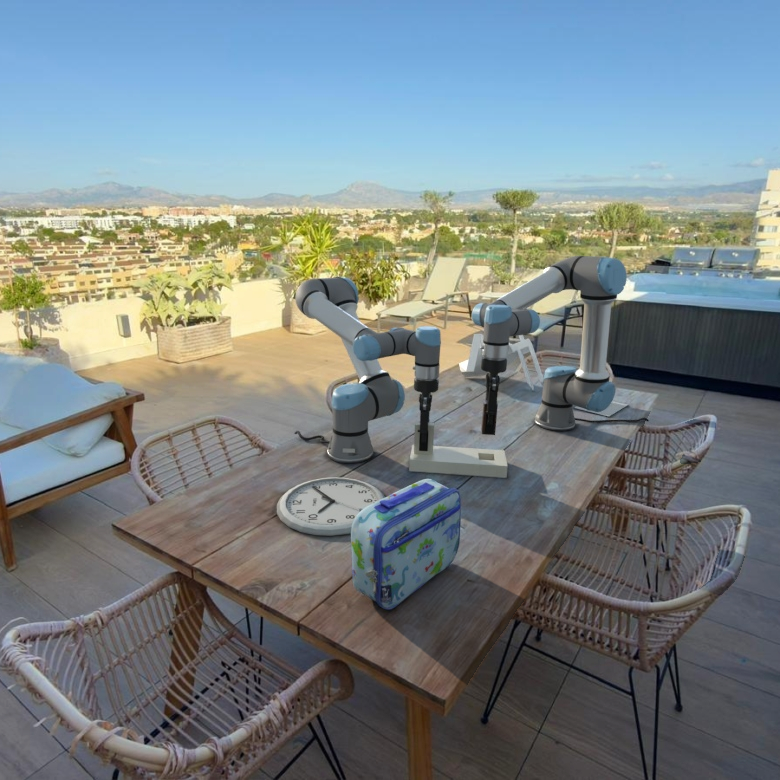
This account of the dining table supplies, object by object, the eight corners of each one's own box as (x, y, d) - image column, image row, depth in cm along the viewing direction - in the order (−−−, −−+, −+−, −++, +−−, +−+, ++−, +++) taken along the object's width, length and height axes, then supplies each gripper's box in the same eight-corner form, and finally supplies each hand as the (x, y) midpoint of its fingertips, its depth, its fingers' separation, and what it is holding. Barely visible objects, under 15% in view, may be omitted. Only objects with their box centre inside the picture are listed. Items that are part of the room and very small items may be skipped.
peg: (494, 430, 165) (496, 400, 162) (495, 435, 161) (497, 404, 158) (481, 429, 165) (483, 399, 162) (481, 434, 161) (484, 403, 158)
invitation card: (608, 416, 214) (573, 407, 224) (608, 416, 214) (573, 408, 224) (628, 404, 229) (594, 396, 238) (628, 405, 229) (594, 397, 238)
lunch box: (380, 623, 100) (381, 528, 94) (344, 596, 108) (343, 505, 101) (464, 565, 118) (470, 482, 112) (428, 545, 125) (432, 466, 119)
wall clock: (392, 527, 129) (268, 531, 127) (391, 533, 130) (269, 537, 127) (383, 473, 158) (282, 475, 155) (383, 478, 158) (282, 480, 156)
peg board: (503, 461, 172) (506, 421, 167) (506, 478, 160) (510, 435, 156) (412, 455, 175) (413, 416, 171) (409, 471, 164) (410, 429, 159)
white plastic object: (480, 419, 265) (459, 396, 241) (461, 346, 287) (441, 319, 263) (551, 395, 253) (536, 368, 228) (526, 321, 275) (510, 290, 251)
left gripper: (416, 370, 168) (413, 437, 175) (412, 384, 153) (409, 457, 160) (439, 371, 167) (436, 439, 174) (437, 385, 152) (434, 459, 159)
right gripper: (480, 350, 164) (475, 420, 171) (483, 363, 148) (477, 440, 155) (504, 351, 163) (498, 421, 170) (510, 365, 147) (503, 442, 154)
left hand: (423, 448), depth 167 cm, fingers closed on peg board, 3 cm apart
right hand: (488, 430), depth 163 cm, fingers closed on peg, 4 cm apart
